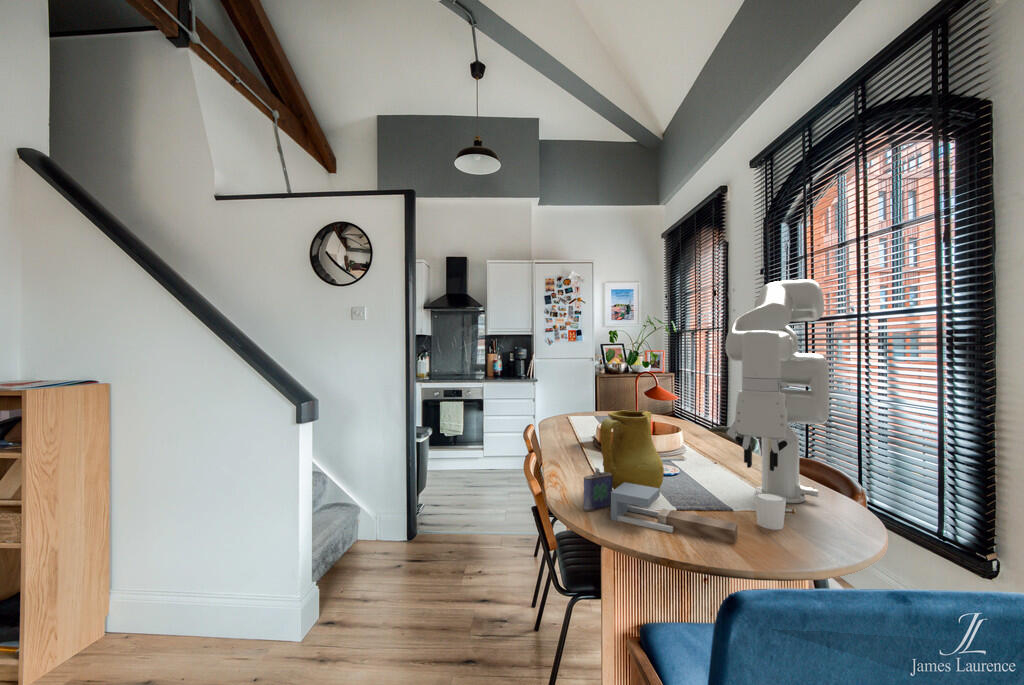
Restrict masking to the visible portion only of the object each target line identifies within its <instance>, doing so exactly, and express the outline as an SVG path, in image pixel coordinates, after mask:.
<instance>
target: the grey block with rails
mask: <svg viewBox="0 0 1024 685" xmlns="http://www.w3.org/2000/svg"><path fill="white" fill-rule="evenodd" d="M660 491H661V487H660V488H654V487H648V486H643V485H637V484H632V483H626V482H624V483H623V484H621V485H620V486H619V487H617V488H616V489H615V490H613V489H612V492H611V507H610V520H611V521H615V522H617V521H618V522H623V523H627V524H631V525H636V526H640V527H645V528H648V529H649V528H650V529H652V530H658V531H663V532H667V533H671V534H673V533H674V530H673V526H669V525H665V524H660V523H658V522H655V521H651V520H645V519H641V518H636V517H631V516H627V515H625V514H626V513H627V512H632V513H637V514H642V515H646V516H652V517H655V518H658V514H659V512H660V511H661V510H653V509H649V508H650V507H651V506H652V504H654V503H655V502H656V501H657V499H658V498H660V496H661V494H660Z"/></svg>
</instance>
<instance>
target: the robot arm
mask: <svg viewBox="0 0 1024 685" xmlns="http://www.w3.org/2000/svg"><path fill="white" fill-rule="evenodd" d="M824 311H825V299H824V294H823V290H822V288H821V285H819V283H818V282H817V281H815V280H813V279H808V278H807V279H794V280H793V279H792V280H780V281H779V280H777V281H773V282H768V283H767V284H765V285H764V286H762V288H761V289H760V291H759V294H758V297H757V298H756V300H755V301H754V308H753V309H751V310H749V311H747V312H745V313H744V314H742V315H740V316H738V317H736V318H735V320H734V321H732V323H731V325H730V327H729V329H728V332H727V335H726V339H725V353H726V356H727V357H728V358H729V359H730V360H731V361H734V362H739V363H741V390H739V391H738V393H737V398H736V406H735V418H734V422H733V423H732V424H731V425H730V427H729V428H728V430H727V431H726V435H727V436H729V437H730V438H732V439H733V440H735V441H736V442H737V443H738V445H740V446H741V447H742V449H743V463H745V464H746V467H747V468H746V469H748V468H749V469H750V468H751V467H752V465H753V448H752V446H751V445H750V444H751V440H752V437H753V438H761V485H760V486H757V487H756V488H755V494H757V493H770V494H775V495H779V496H782V497H784V498H785V499H786V504H800V503H801V504H802V503H804V502H806V496H811V497H814V498H815V497H816V498H818V497H819V490H818V489H813V487H807V486H804V485H801V484H802V483H801V481H800V438H799V436H798V434H797V432H796V431H795V430H794V429H793V428H792V427H791V425H790V424H795V423H796V424H803V425H804V424H805V425H819V426H820V425H824V424H826V423H827V422H828V420H829V418H830V417H829V416H830V367H829V362H828V360H827V358H826V357H825V356H824V355H822V354H819V353H813V352H811V353H810V352H809V353H807V352H806V353H805V352H804V353H803V352H802V353H801V352H799V337H798V335H797V334H796V332H795V331H794V330H793V329H792V328H791V327H790V323H791V322H815V321H818V320H820V318H822V316H823V314H824V313H825V312H824ZM789 386H797V387H800V386H801V387H808V388H809V389H810V390H800V389H788V388H789Z"/></svg>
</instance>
